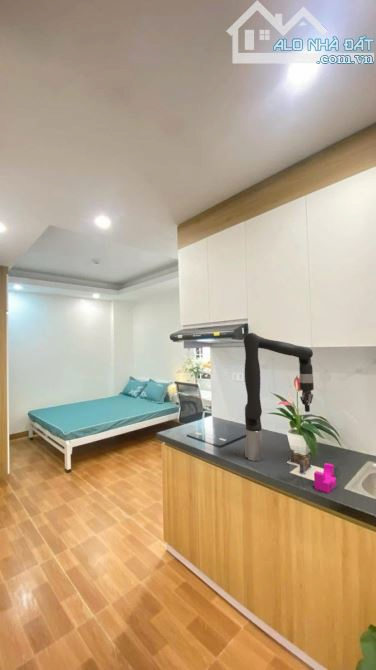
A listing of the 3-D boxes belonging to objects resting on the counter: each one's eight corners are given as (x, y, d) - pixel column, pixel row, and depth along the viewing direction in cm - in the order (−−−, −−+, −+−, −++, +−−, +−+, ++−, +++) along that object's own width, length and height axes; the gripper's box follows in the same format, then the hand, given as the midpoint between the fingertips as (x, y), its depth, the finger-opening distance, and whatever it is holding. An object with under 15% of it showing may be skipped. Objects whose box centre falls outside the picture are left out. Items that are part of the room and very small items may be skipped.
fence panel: (306, 466, 152) (305, 455, 152) (309, 467, 150) (309, 456, 150) (299, 472, 145) (299, 460, 146) (302, 473, 144) (302, 461, 144)
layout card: (277, 469, 151) (277, 468, 151) (290, 459, 162) (290, 459, 162) (320, 483, 135) (320, 482, 135) (331, 471, 146) (331, 470, 146)
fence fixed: (290, 461, 159) (289, 450, 159) (291, 460, 160) (291, 449, 160) (309, 467, 151) (309, 455, 151) (311, 466, 152) (310, 454, 152)
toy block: (328, 493, 126) (328, 477, 126) (314, 489, 130) (314, 472, 130) (339, 482, 136) (339, 466, 136) (326, 477, 140) (325, 462, 141)
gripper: (304, 379, 167) (305, 408, 167) (294, 382, 158) (296, 412, 157) (317, 380, 162) (318, 410, 161) (308, 383, 153) (309, 414, 152)
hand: (307, 411), depth 159 cm, fingers closed
